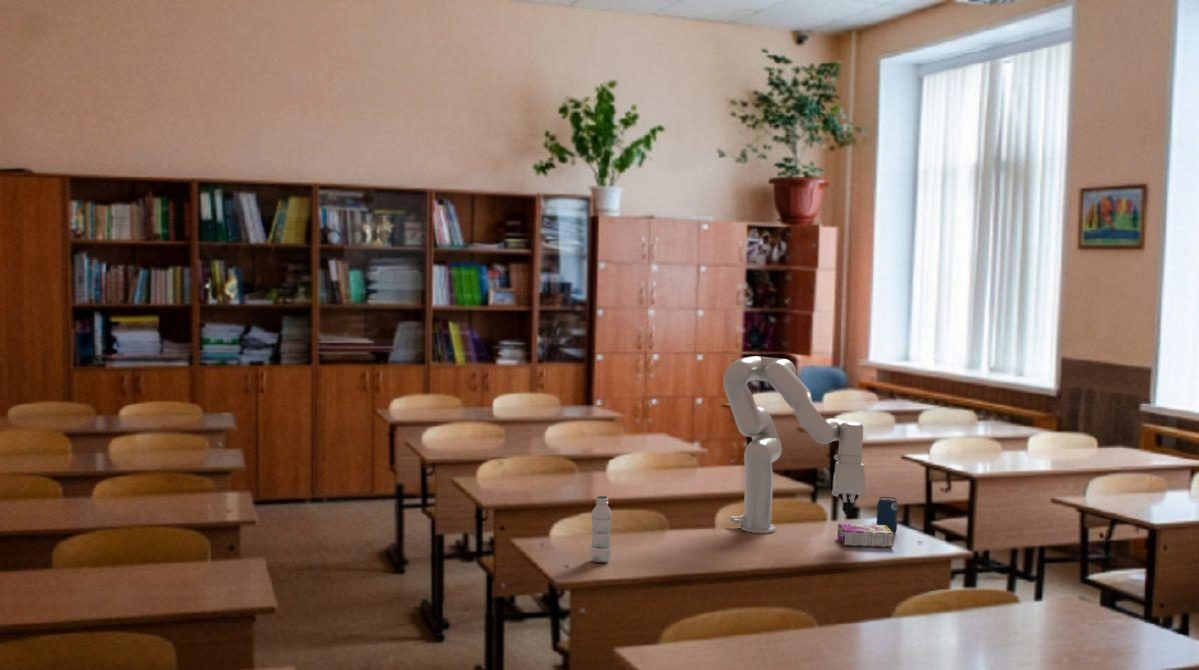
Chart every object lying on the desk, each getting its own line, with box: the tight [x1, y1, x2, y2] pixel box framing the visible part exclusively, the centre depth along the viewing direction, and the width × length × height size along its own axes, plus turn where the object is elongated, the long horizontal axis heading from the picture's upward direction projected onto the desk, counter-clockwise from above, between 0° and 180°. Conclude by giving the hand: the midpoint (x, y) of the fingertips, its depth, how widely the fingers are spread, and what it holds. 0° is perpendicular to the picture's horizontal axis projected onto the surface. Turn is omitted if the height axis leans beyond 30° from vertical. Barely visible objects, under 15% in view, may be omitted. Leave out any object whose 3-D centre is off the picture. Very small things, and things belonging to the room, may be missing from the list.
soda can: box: [875, 496, 899, 535], centre depth 371 cm, size 7×7×12 cm
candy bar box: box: [837, 523, 895, 548], centre depth 357 cm, size 11×5×16 cm
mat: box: [844, 545, 892, 549], centre depth 359 cm, size 15×12×1 cm
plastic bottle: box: [589, 495, 613, 563], centre depth 326 cm, size 6×7×20 cm
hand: (847, 513), depth 356 cm, fingers closed
